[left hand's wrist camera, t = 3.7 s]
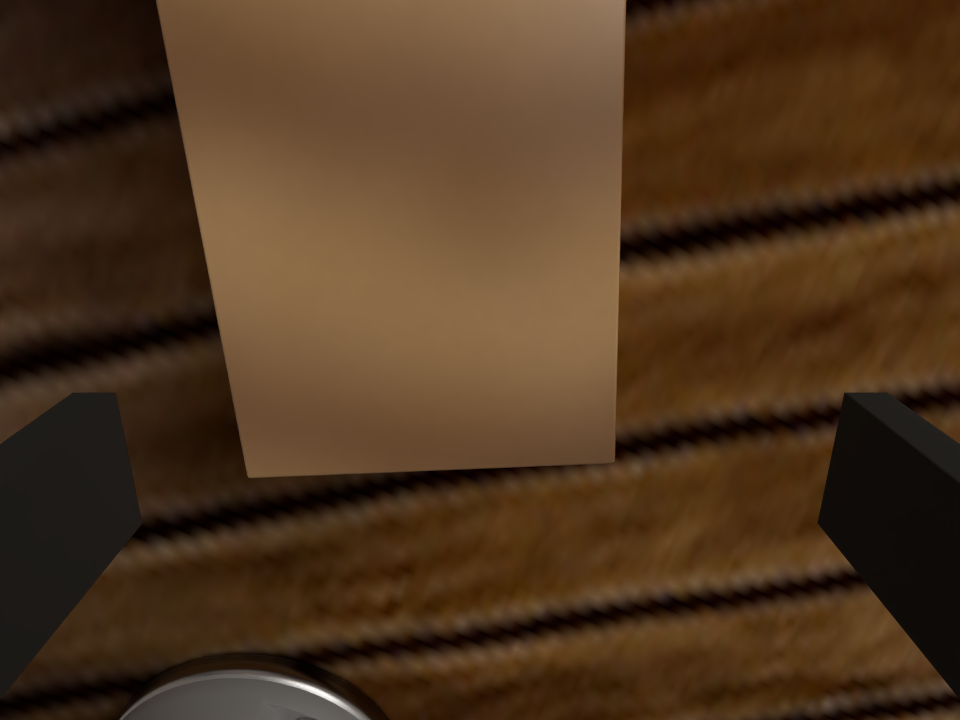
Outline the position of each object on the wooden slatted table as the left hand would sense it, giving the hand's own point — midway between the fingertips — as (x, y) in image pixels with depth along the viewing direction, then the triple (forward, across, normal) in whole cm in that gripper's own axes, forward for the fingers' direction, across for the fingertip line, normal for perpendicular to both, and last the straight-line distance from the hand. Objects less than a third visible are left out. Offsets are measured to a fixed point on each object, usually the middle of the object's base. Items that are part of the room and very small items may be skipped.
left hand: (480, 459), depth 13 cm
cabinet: (+15, +2, -6) cm, 16 cm away
